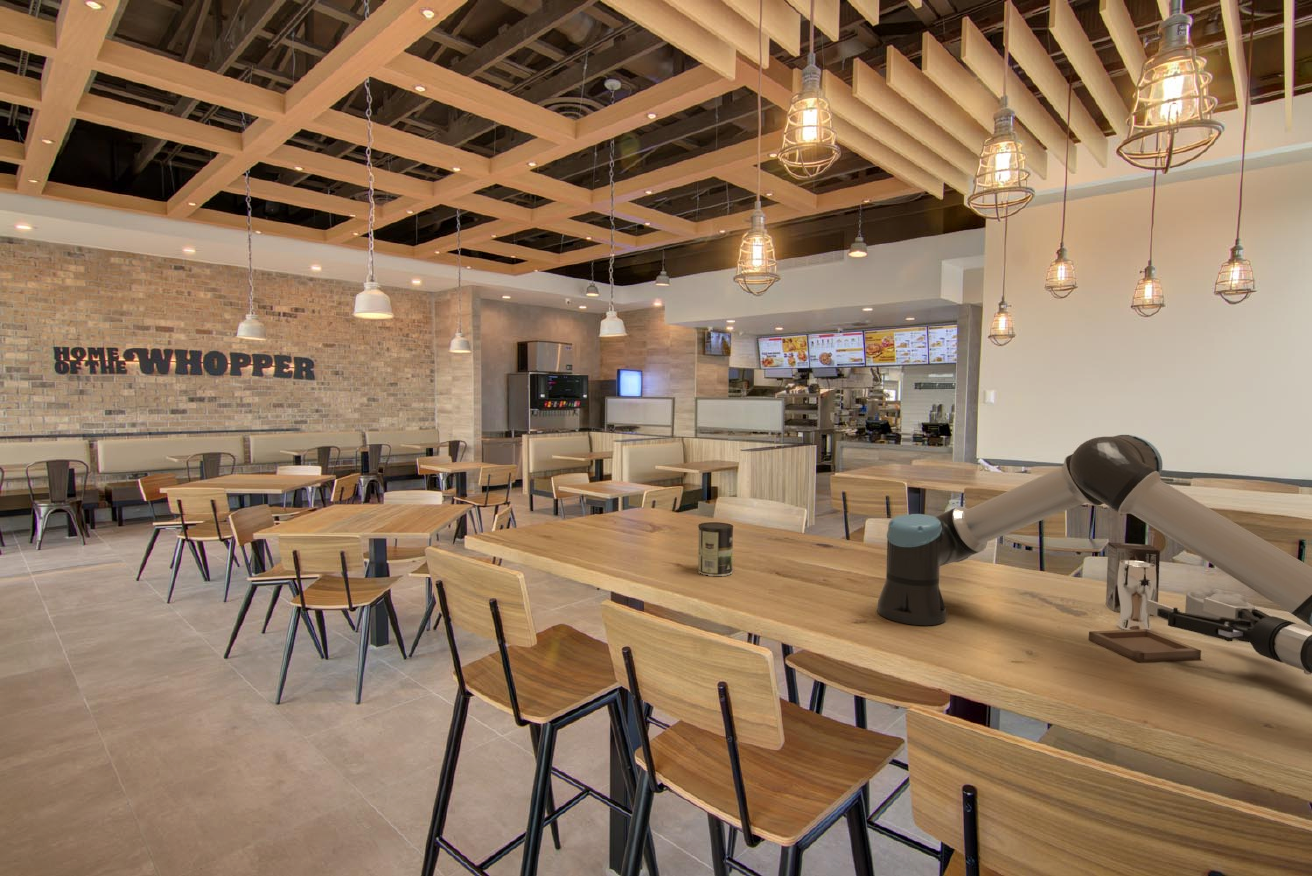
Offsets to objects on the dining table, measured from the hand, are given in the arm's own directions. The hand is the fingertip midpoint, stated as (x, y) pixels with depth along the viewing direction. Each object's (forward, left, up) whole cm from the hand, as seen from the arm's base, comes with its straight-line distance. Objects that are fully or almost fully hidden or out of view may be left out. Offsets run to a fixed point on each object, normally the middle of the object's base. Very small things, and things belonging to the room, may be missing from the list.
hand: (1176, 605), depth 133 cm
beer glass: (0, +10, -9) cm, 13 cm away
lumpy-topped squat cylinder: (+19, +8, -9) cm, 22 cm away
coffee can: (-84, +66, -9) cm, 107 cm away
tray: (-9, -1, -8) cm, 12 cm away
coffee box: (+11, +22, -9) cm, 26 cm away
